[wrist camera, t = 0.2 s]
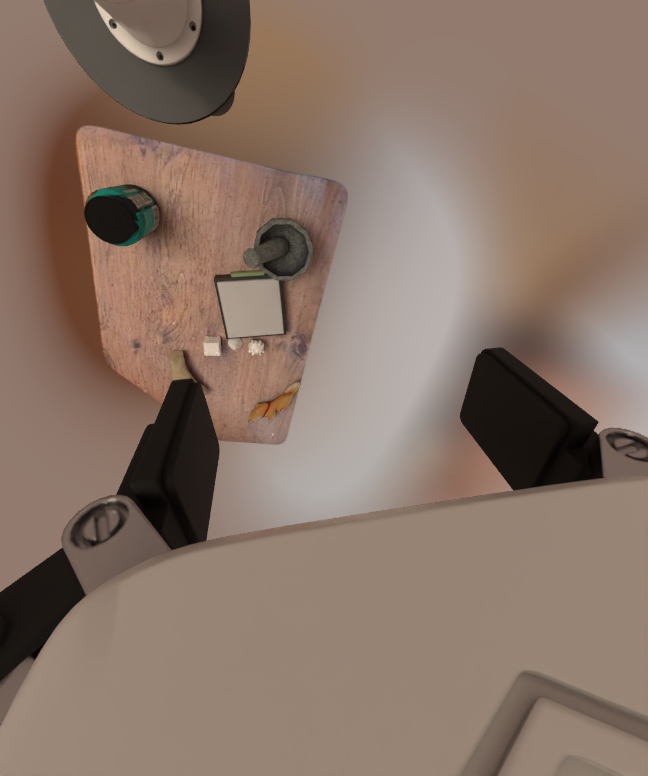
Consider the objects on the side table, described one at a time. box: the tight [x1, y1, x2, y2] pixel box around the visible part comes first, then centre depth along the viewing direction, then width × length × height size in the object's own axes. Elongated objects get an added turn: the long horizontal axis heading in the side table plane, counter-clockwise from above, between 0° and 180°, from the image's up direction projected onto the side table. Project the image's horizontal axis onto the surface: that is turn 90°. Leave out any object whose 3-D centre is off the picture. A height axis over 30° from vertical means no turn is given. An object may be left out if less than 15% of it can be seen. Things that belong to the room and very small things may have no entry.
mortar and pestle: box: [243, 218, 313, 281], centre depth 53 cm, size 11×9×12 cm
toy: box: [248, 382, 301, 422], centre depth 77 cm, size 3×17×5 cm
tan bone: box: [169, 350, 207, 395], centre depth 68 cm, size 11×6×5 cm, turn 16°
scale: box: [214, 270, 286, 339], centre depth 62 cm, size 13×12×3 cm
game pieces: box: [203, 336, 264, 356], centre depth 67 cm, size 12×3×3 cm, turn 84°
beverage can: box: [84, 185, 160, 246], centre depth 47 cm, size 7×7×12 cm
